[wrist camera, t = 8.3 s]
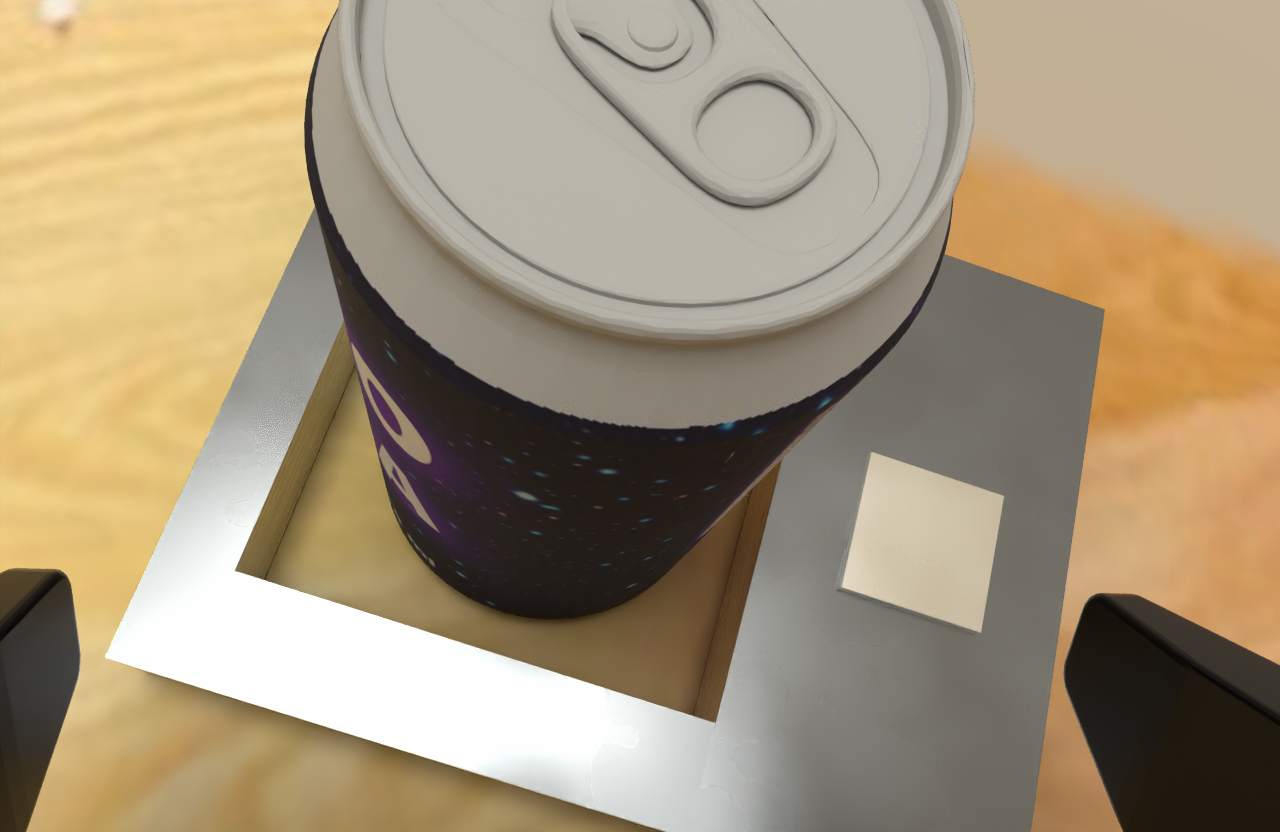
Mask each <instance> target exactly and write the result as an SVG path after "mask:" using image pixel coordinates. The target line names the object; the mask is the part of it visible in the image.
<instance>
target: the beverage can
mask: <svg viewBox="0 0 1280 832" xmlns="http://www.w3.org/2000/svg"><path fill="white" fill-rule="evenodd" d="M974 102H975V78H974V72H973V66H972V59H971V53H970V45H969V40H968V37H967V34H966V31H965V28H964V25H963V22H962V19H961V15H960V13H959V9H958V6H957V3H956V1H955V0H339V6H338V8H337V10H336V12H335V14H334V16H333V18H332V20H331V22H330V24H329V26H328V28H327V30H326V32H325V34H324V37H323V39H322V42H321V44H320V47H319V50H318V52H317V55H316V58H315V62H314V65H313V69H312V73H311V76H310V81H309V87H308V93H307V98H306V109H305V122H304V132H305V154H306V163H307V171H308V176H309V181H310V186H311V191H312V196H313V200H314V203H315V207H316V211H317V215H318V219H319V223H320V227H321V231H322V235H323V239H324V243H325V247H326V251H327V255H328V259H329V263H330V267H331V271H332V275H333V278H334V282H335V286H336V290H337V294H338V298H339V302H340V306H341V310H342V314H343V318H344V322H345V326H346V330H347V334H348V338H349V342H350V346H351V350H352V353H353V357H354V361H355V365H356V369H357V373H358V377H359V381H360V385H361V389H362V393H363V397H364V401H365V405H366V409H367V413H368V417H369V421H370V425H371V429H372V432H373V436H374V440H375V444H376V448H377V452H378V456H379V460H380V464H381V468H382V472H383V476H384V480H385V484H386V488H387V492H388V496H389V499H390V502H391V506H392V509H393V511H394V514H395V516H396V519H397V521H398V523H399V525H400V527H401V529H402V531H403V533H404V535H405V536H406V538H407V540H408V541H409V543H410V544H411V546H412V547H413V549H414V550H415V551H416V553H417V554H418V555H419V557H420V558H421V559H422V560H423V561H424V562H425V564H426V565H427V566H428V567H429V568H430V569H431V570H432V571H433V572H434V573H435V574H436V575H438V576H439V577H440V578H441V579H442V580H444V581H445V582H446V583H447V584H449V585H450V586H451V587H453V588H454V589H456V590H457V591H459V592H460V593H462V594H464V595H465V596H467V597H469V598H471V599H473V600H475V601H477V602H479V603H481V604H483V605H486V606H488V607H490V608H493V609H496V610H499V611H502V612H506V613H510V614H514V615H518V616H524V617H531V618H543V619H561V618H573V617H579V616H585V615H589V614H593V613H597V612H601V611H604V610H607V609H610V608H613V607H615V606H617V605H620V604H622V603H624V602H626V601H628V600H630V599H632V598H634V597H636V596H637V595H639V594H640V593H642V592H643V591H645V590H647V589H648V588H649V587H651V586H652V585H653V584H654V583H656V582H657V581H658V580H659V579H660V578H662V577H663V576H664V575H665V574H666V573H667V572H668V571H669V570H670V569H671V568H672V567H673V566H674V565H675V564H676V563H677V562H678V561H679V560H680V559H681V558H682V557H683V556H684V555H685V554H686V553H687V552H688V551H689V550H690V549H691V548H692V547H693V546H694V545H695V544H697V543H698V542H699V541H700V540H701V539H702V538H703V537H704V536H705V535H706V534H707V533H708V532H709V531H710V530H711V529H712V528H713V527H714V526H715V525H716V524H717V523H718V522H719V521H720V520H721V519H722V518H723V517H724V516H725V515H726V514H727V513H728V512H729V511H730V510H731V509H732V508H733V507H734V506H735V505H736V504H737V503H738V502H739V501H740V500H741V499H742V498H743V497H744V496H745V495H746V494H747V493H748V492H749V491H750V490H751V489H752V488H753V487H754V486H755V485H756V484H757V483H758V482H759V481H760V480H761V479H762V478H763V477H764V476H765V475H766V474H767V473H768V472H769V471H770V470H771V469H772V468H773V467H774V466H775V465H776V464H778V463H779V462H780V461H781V460H782V459H783V458H784V457H785V456H786V455H787V454H788V453H789V452H790V451H791V450H792V449H793V448H794V447H795V446H796V445H797V444H798V443H799V442H800V441H801V440H802V439H803V438H804V437H805V436H806V435H807V434H808V433H809V432H810V431H811V430H812V429H813V428H814V427H815V426H816V425H817V424H818V423H819V422H820V421H821V420H822V419H823V418H824V417H825V416H826V415H827V414H828V413H829V412H830V411H831V410H832V409H833V408H834V407H835V406H836V405H837V404H838V403H839V402H840V401H841V400H842V399H843V398H844V397H845V396H846V395H847V394H848V393H849V392H850V391H851V390H852V389H853V388H854V387H855V386H856V385H857V384H859V383H860V382H861V381H862V380H863V379H864V378H865V377H866V376H867V375H868V374H869V373H870V372H871V371H872V370H873V369H874V368H875V367H876V366H877V365H878V364H879V363H880V362H881V361H882V360H883V358H884V357H885V356H886V355H887V354H888V353H889V352H890V351H891V350H892V349H893V348H894V347H895V346H896V344H897V343H898V342H899V340H900V339H901V338H902V337H903V335H904V334H905V333H906V331H907V330H908V329H909V327H910V326H911V324H912V323H913V321H914V320H915V318H916V317H917V315H918V313H919V312H920V310H921V309H922V307H923V305H924V303H925V301H926V299H927V297H928V295H929V293H930V291H931V289H932V287H933V284H934V282H935V279H936V277H937V274H938V272H939V269H940V266H941V263H942V260H943V256H944V253H945V250H946V245H947V240H948V236H949V231H950V225H951V216H952V207H953V195H954V193H955V191H956V188H957V186H958V183H959V181H960V178H961V176H962V173H963V170H964V167H965V163H966V160H967V155H968V151H969V146H970V141H971V136H972V131H973V126H974V106H975V103H974Z"/></svg>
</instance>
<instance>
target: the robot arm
mask: <svg viewBox="0 0 1280 832" xmlns="http://www.w3.org/2000/svg"><path fill="white" fill-rule="evenodd" d="M80 656H81V654H80V645H79V638H78V631H77V623H76V616H75V609H74V602H73V594H72V588H71V584H70V581H69V579H68V577H67V575H66V574H65V573H64V572H62V571H61V570H57V569H28V568H14V569H8V570H6V571H4V572H2V573H0V832H26V831H27V828H28V825H29V822H30V820H31V817H32V814H33V811H34V808H35V805H36V802H37V799H38V796H39V793H40V790H41V787H42V784H43V781H44V778H45V775H46V772H47V769H48V766H49V763H50V761H51V758H52V755H53V752H54V749H55V746H56V743H57V740H58V737H59V734H60V731H61V728H62V725H63V722H64V719H65V716H66V713H67V710H68V707H69V704H70V701H71V698H72V696H73V693H74V690H75V687H76V684H77V680H78V676H79V671H80ZM1064 683H1065V688H1066V691H1067V694H1068V697H1069V699H1070V702H1071V704H1072V707H1073V709H1074V712H1075V714H1076V717H1077V719H1078V722H1079V724H1080V727H1081V729H1082V732H1083V734H1084V737H1085V739H1086V742H1087V744H1088V747H1089V749H1090V752H1091V754H1092V757H1093V759H1094V762H1095V764H1096V767H1097V769H1098V772H1099V774H1100V777H1101V779H1102V782H1103V784H1104V787H1105V789H1106V792H1107V794H1108V797H1109V799H1110V802H1111V804H1112V807H1113V809H1114V812H1115V814H1116V816H1117V819H1118V821H1119V823H1120V825H1121V828H1122V830H1123V832H1280V665H1278V664H1276V663H1274V662H1272V661H1270V660H1268V659H1266V658H1264V657H1262V656H1260V655H1258V654H1256V653H1254V652H1252V651H1250V650H1248V649H1246V648H1244V647H1242V646H1240V645H1238V644H1236V643H1234V642H1232V641H1230V640H1228V639H1226V638H1224V637H1222V636H1220V635H1218V634H1216V633H1214V632H1212V631H1210V630H1208V629H1206V628H1204V627H1201V626H1199V625H1197V624H1195V623H1193V622H1191V621H1189V620H1187V619H1185V618H1183V617H1181V616H1179V615H1177V614H1175V613H1173V612H1171V611H1169V610H1167V609H1165V608H1163V607H1161V606H1159V605H1157V604H1155V603H1153V602H1151V601H1149V600H1147V599H1145V598H1143V597H1141V596H1138V595H1134V594H1112V593H1099V594H1095V595H1094V596H1092V597H1090V598H1089V599H1088V600H1087V602H1086V603H1085V605H1084V607H1083V610H1082V613H1081V616H1080V619H1079V622H1078V625H1077V628H1076V631H1075V634H1074V637H1073V639H1072V642H1071V645H1070V648H1069V651H1068V654H1067V657H1066V660H1065V665H1064Z"/></svg>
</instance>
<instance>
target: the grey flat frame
mask: <svg viewBox="0 0 1280 832" xmlns="http://www.w3.org/2000/svg"><path fill="white" fill-rule="evenodd" d="M1104 311H1105V310H1104V309H1102V308H1099V307H1096V306H1093V305H1090V304H1087V303H1084V302H1081V301H1078V300H1075V299H1073V298H1070V297H1067V296H1064V295H1061V294H1058V293H1055V292H1052V291H1049V290H1046V289H1044V288H1041V287H1038V286H1035V285H1032V284H1029V283H1026V282H1023V281H1020V280H1018V279H1015V278H1012V277H1009V276H1006V275H1003V274H1000V273H997V272H994V271H991V270H989V269H986V268H983V267H980V266H977V265H974V264H971V263H968V262H965V261H962V260H960V259H957V258H954V257H951V256H948V255H945V254H944V256H943V260H942V263H941V266H940V269H939V272H938V274H937V277H936V279H935V282H934V284H933V287H932V289H931V291H930V293H929V295H928V297H927V299H926V301H925V303H924V305H923V307H922V309H921V310H920V312H919V313H918V315H917V317H916V318H915V320H914V321H913V323H912V324H911V326H910V327H909V329H908V330H907V331H906V333H905V334H904V335H903V337H902V338H901V339H900V340H899V342H898V343H897V344H896V346H895V347H894V348H893V349H892V350H891V351H890V352H889V353H888V354H887V355H886V356H885V357H884V358H883V360H882V361H881V362H880V363H879V364H878V365H877V366H876V367H875V368H874V369H873V370H872V371H871V372H870V373H869V374H868V375H867V376H866V377H865V378H864V379H863V380H862V381H861V382H860V383H859V384H857V385H856V386H855V387H854V388H853V389H852V390H851V391H850V392H849V393H848V394H847V395H846V396H845V397H844V398H843V399H842V400H841V401H840V402H839V403H838V404H837V405H836V406H835V407H834V408H833V409H832V410H831V411H830V412H829V413H828V414H827V415H826V416H825V417H824V418H823V419H822V420H821V421H820V422H819V423H818V424H817V425H816V426H815V427H814V428H813V429H812V430H811V431H810V432H809V433H808V434H807V435H806V436H805V437H804V438H803V439H802V440H801V441H800V442H799V443H798V444H797V445H796V446H795V447H794V448H793V449H792V450H791V451H790V452H789V453H788V454H787V455H786V456H785V457H784V458H783V459H782V460H781V461H780V462H779V463H778V464H776V465H775V466H774V467H773V468H772V469H771V470H770V471H769V472H768V473H767V474H766V475H765V476H764V477H763V478H762V479H761V480H760V481H759V482H758V483H757V484H756V485H755V486H754V487H753V488H752V491H751V495H750V499H749V503H748V507H747V510H746V514H745V518H744V522H743V526H742V530H741V533H740V537H739V541H738V545H737V549H736V553H735V556H734V560H733V564H732V568H731V572H730V576H729V579H728V583H727V587H726V591H725V595H724V599H723V602H722V606H721V610H720V614H719V618H718V622H717V625H716V629H715V633H714V637H713V641H712V645H711V649H710V652H709V656H708V660H707V664H706V668H705V672H704V675H703V679H702V683H701V687H700V691H699V695H698V698H697V702H696V706H695V710H694V714H693V716H691V715H688V714H685V713H682V712H679V711H676V710H672V709H669V708H666V707H663V706H660V705H657V704H654V703H650V702H647V701H644V700H641V699H638V698H635V697H631V696H628V695H625V694H622V693H619V692H616V691H612V690H609V689H606V688H603V687H600V686H597V685H593V684H590V683H587V682H584V681H581V680H578V679H575V678H571V677H568V676H565V675H562V674H559V673H556V672H552V671H549V670H546V669H543V668H540V667H537V666H533V665H530V664H527V663H524V662H521V661H518V660H514V659H511V658H508V657H505V656H502V655H499V654H496V653H492V652H489V651H486V650H483V649H480V648H477V647H473V646H470V645H467V644H464V643H461V642H458V641H454V640H451V639H448V638H445V637H442V636H439V635H435V634H432V633H429V632H426V631H423V630H420V629H417V628H413V627H410V626H407V625H404V624H401V623H398V622H394V621H391V620H388V619H385V618H382V617H379V616H375V615H372V614H369V613H366V612H363V611H360V610H357V609H353V608H350V607H347V606H344V605H341V604H338V603H334V602H331V601H328V600H325V599H322V598H319V597H315V596H312V595H309V594H306V593H303V592H300V591H296V590H293V589H290V588H287V587H284V586H281V585H278V584H274V583H271V582H268V581H265V580H264V579H265V576H266V574H267V572H268V569H269V567H270V565H271V562H272V560H273V558H274V555H275V553H276V550H277V548H278V546H279V543H280V541H281V539H282V536H283V534H284V532H285V529H286V527H287V524H288V522H289V520H290V517H291V515H292V513H293V510H294V508H295V506H296V503H297V501H298V499H299V496H300V494H301V491H302V489H303V487H304V484H305V482H306V480H307V477H308V475H309V473H310V470H311V468H312V465H313V463H314V461H315V458H316V456H317V454H318V451H319V449H320V447H321V444H322V442H323V439H324V437H325V435H326V432H327V430H328V428H329V425H330V423H331V421H332V418H333V416H334V413H335V411H336V409H337V406H338V404H339V402H340V399H341V397H342V395H343V392H344V390H345V387H346V385H347V383H348V380H349V378H350V376H351V373H352V371H353V369H354V366H355V361H354V357H353V353H352V350H351V346H350V342H349V338H348V334H347V330H346V326H345V322H344V318H343V314H342V310H341V306H340V302H339V298H338V294H337V290H336V286H335V282H334V278H333V275H332V271H331V267H330V263H329V259H328V255H327V251H326V247H325V243H324V239H323V235H322V231H321V227H320V223H319V219H318V215H317V211H316V207H314V210H313V212H312V214H311V216H310V218H309V220H308V222H307V225H306V227H305V229H304V231H303V233H302V235H301V237H300V240H299V242H298V244H297V246H296V248H295V250H294V252H293V255H292V257H291V259H290V261H289V263H288V265H287V268H286V270H285V272H284V274H283V276H282V278H281V280H280V283H279V285H278V287H277V289H276V291H275V293H274V295H273V298H272V300H271V302H270V304H269V306H268V308H267V310H266V313H265V315H264V317H263V319H262V321H261V323H260V325H259V328H258V330H257V332H256V334H255V336H254V338H253V340H252V343H251V345H250V347H249V349H248V351H247V353H246V355H245V358H244V360H243V362H242V364H241V366H240V368H239V370H238V373H237V375H236V377H235V379H234V381H233V383H232V385H231V388H230V390H229V392H228V394H227V396H226V398H225V400H224V403H223V405H222V407H221V409H220V411H219V413H218V415H217V418H216V420H215V422H214V424H213V426H212V428H211V430H210V433H209V435H208V437H207V439H206V441H205V443H204V445H203V448H202V450H201V452H200V454H199V456H198V458H197V460H196V463H195V465H194V467H193V469H192V471H191V473H190V475H189V478H188V480H187V482H186V484H185V486H184V488H183V490H182V493H181V495H180V497H179V499H178V501H177V503H176V505H175V508H174V510H173V512H172V514H171V516H170V518H169V520H168V523H167V525H166V527H165V529H164V531H163V533H162V535H161V538H160V540H159V542H158V544H157V546H156V548H155V550H154V553H153V555H152V557H151V559H150V561H149V563H148V565H147V568H146V570H145V572H144V574H143V576H142V578H141V580H140V583H139V585H138V587H137V589H136V591H135V593H134V595H133V598H132V600H131V602H130V604H129V606H128V608H127V610H126V613H125V615H124V617H123V619H122V621H121V623H120V626H119V628H118V630H117V632H116V634H115V636H114V638H113V641H112V643H111V645H110V647H109V649H108V651H107V653H106V656H105V658H107V659H110V660H113V661H116V662H119V663H121V664H124V665H127V666H130V667H133V668H136V669H139V670H142V671H145V672H148V673H151V674H154V675H158V676H161V677H164V678H167V679H171V680H174V681H177V682H180V683H184V684H187V685H190V686H193V687H196V688H200V689H203V690H206V691H209V692H213V693H216V694H219V695H222V696H225V697H229V698H232V699H235V700H238V701H242V702H245V703H248V704H251V705H254V706H258V707H261V708H264V709H267V710H271V711H274V712H277V713H280V714H284V715H287V716H290V717H293V718H296V719H300V720H303V721H306V722H309V723H313V724H316V725H319V726H322V727H325V728H329V729H332V730H335V731H338V732H342V733H345V734H348V735H351V736H354V737H358V738H361V739H364V740H367V741H371V742H374V743H377V744H380V745H384V746H387V747H390V748H393V749H396V750H400V751H403V752H406V753H409V754H413V755H416V756H419V757H422V758H425V759H429V760H432V761H435V762H438V763H442V764H445V765H448V766H451V767H455V768H458V769H461V770H464V771H467V772H471V773H474V774H477V775H480V776H484V777H487V778H490V779H493V780H496V781H500V782H503V783H506V784H509V785H513V786H516V787H519V788H522V789H525V790H529V791H532V792H535V793H538V794H542V795H545V796H548V797H551V798H555V799H558V800H561V801H564V802H567V803H571V804H574V805H577V806H580V807H584V808H587V809H590V810H593V811H596V812H600V813H603V814H606V815H609V816H613V817H616V818H619V819H622V820H625V821H629V822H632V823H635V824H638V825H642V826H645V827H648V828H651V829H655V830H658V831H661V832H1030V831H1031V824H1032V817H1033V810H1034V803H1035V796H1036V789H1037V782H1038V775H1039V768H1040V761H1041V754H1042V747H1043V740H1044V733H1045V726H1046V719H1047V712H1048V705H1049V698H1050V691H1051V684H1052V677H1053V670H1054V663H1055V656H1056V649H1057V642H1058V635H1059V628H1060V620H1061V613H1062V606H1063V599H1064V592H1065V585H1066V578H1067V571H1068V564H1069V557H1070V550H1071V543H1072V536H1073V529H1074V522H1075V515H1076V508H1077V501H1078V494H1079V487H1080V480H1081V473H1082V466H1083V459H1084V452H1085V445H1086V438H1087V431H1088V424H1089V417H1090V410H1091V403H1092V396H1093V389H1094V382H1095V375H1096V368H1097V361H1098V354H1099V347H1100V340H1101V333H1102V325H1103V318H1104Z"/></svg>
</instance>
